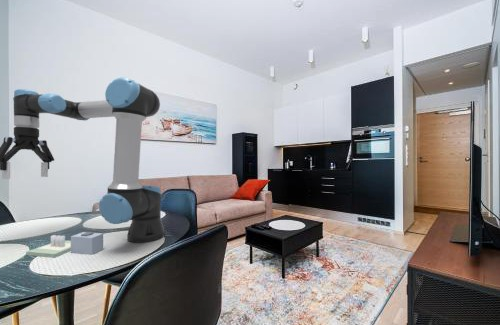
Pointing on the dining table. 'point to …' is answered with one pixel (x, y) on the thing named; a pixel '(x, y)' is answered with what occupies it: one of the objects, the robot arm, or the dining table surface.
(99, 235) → the plug
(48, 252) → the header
